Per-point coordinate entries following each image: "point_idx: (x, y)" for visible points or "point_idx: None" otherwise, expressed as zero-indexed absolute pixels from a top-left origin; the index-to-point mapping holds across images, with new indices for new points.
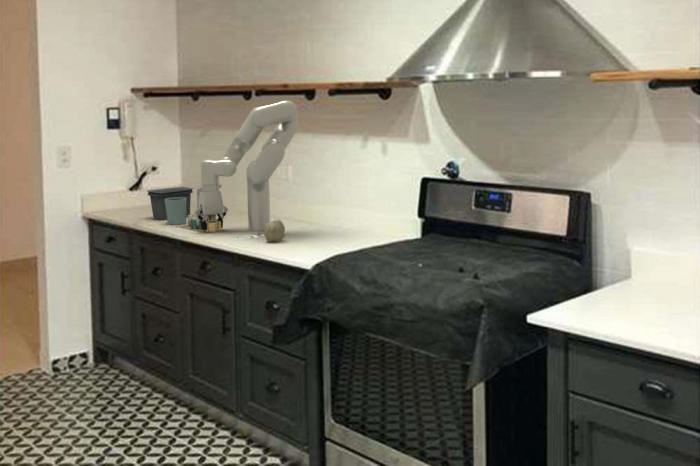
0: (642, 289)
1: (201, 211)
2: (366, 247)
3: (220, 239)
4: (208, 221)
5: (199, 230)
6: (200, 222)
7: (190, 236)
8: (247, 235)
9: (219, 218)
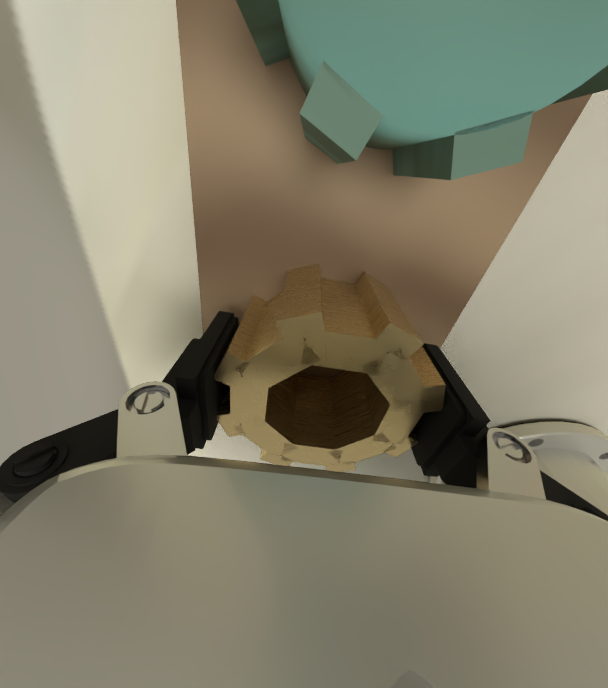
0: None
1: (87, 565)
2: None
3: (235, 458)
4: (322, 366)
5: (253, 215)
6: (322, 141)
7: (117, 258)
8: (399, 473)
9: (447, 454)
